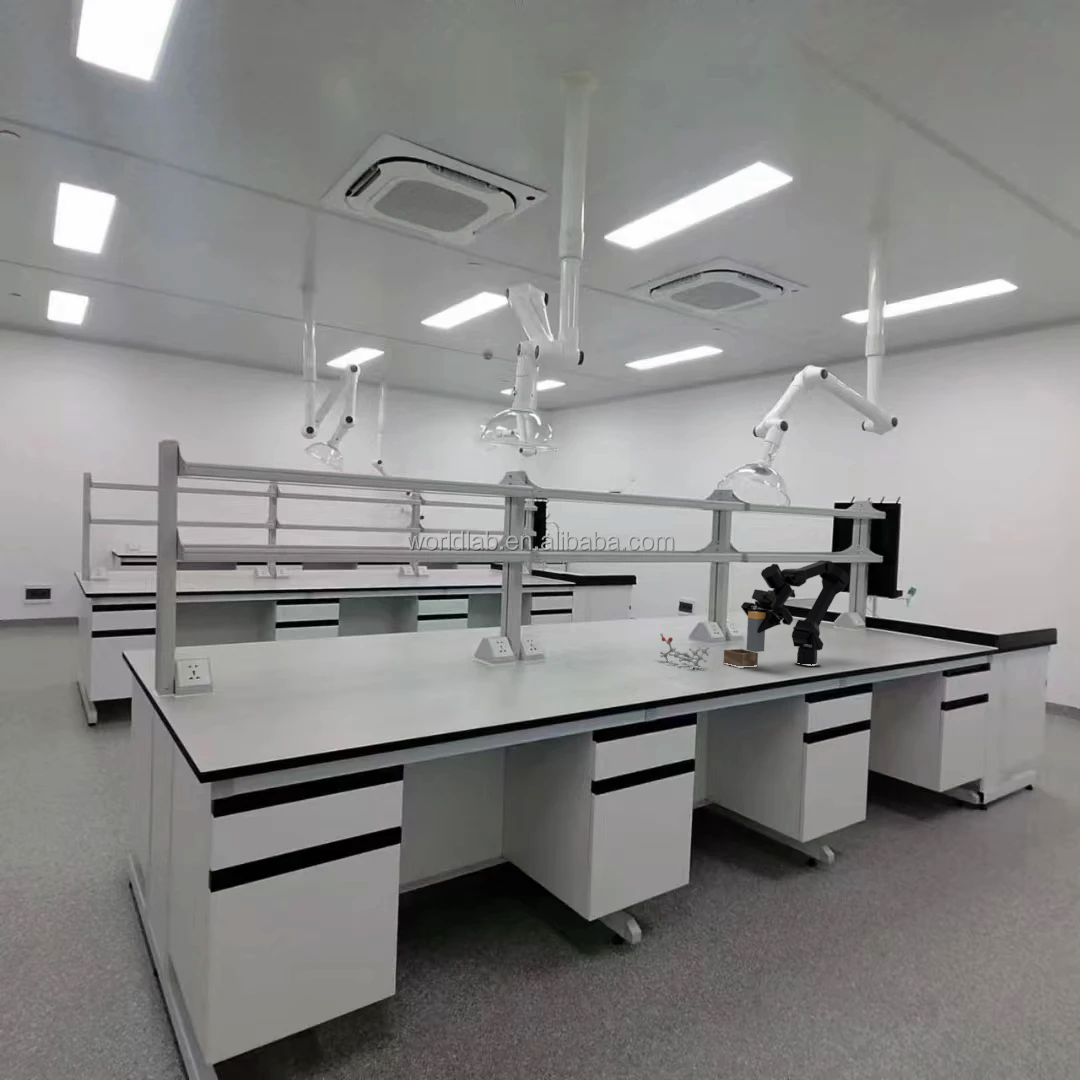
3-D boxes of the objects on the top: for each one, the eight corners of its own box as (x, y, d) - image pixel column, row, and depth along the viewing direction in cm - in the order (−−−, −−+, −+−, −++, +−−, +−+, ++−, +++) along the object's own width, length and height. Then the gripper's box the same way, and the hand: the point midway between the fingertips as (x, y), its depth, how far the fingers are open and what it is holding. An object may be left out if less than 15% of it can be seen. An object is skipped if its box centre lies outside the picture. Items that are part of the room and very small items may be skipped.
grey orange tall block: (755, 649, 234) (756, 611, 233) (764, 651, 230) (765, 612, 230) (746, 649, 232) (748, 611, 232) (755, 651, 228) (757, 613, 228)
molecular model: (715, 670, 229) (716, 641, 228) (692, 675, 224) (693, 645, 223) (675, 657, 246) (676, 630, 245) (654, 661, 240) (654, 633, 240)
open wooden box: (740, 662, 244) (741, 648, 244) (757, 667, 237) (757, 653, 237) (723, 664, 240) (724, 649, 240) (739, 668, 233) (740, 654, 233)
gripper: (746, 579, 241) (721, 611, 236) (788, 584, 224) (763, 618, 219) (761, 600, 245) (737, 633, 240) (804, 607, 228) (779, 641, 223)
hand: (753, 631), depth 230 cm, fingers closed on grey orange tall block, 4 cm apart
